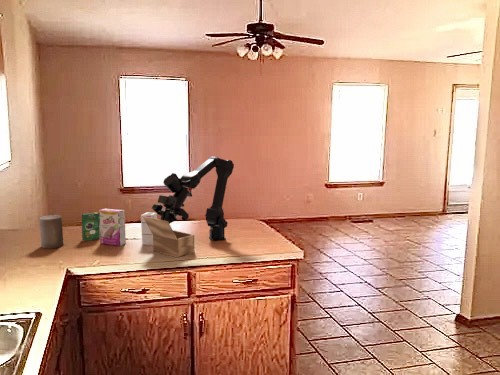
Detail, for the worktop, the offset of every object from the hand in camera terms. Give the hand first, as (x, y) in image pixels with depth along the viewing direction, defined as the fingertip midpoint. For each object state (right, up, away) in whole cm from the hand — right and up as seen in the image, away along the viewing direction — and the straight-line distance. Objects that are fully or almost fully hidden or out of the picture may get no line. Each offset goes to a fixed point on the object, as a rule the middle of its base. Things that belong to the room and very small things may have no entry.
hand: (160, 228), depth 212 cm
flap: (0, 0, 0) cm, 0 cm away
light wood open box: (+5, -11, +8) cm, 14 cm away
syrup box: (-9, -9, +21) cm, 25 cm away
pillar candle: (-53, -10, +17) cm, 57 cm away
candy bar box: (-26, -9, +20) cm, 34 cm away
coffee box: (-39, -8, +28) cm, 48 cm away
